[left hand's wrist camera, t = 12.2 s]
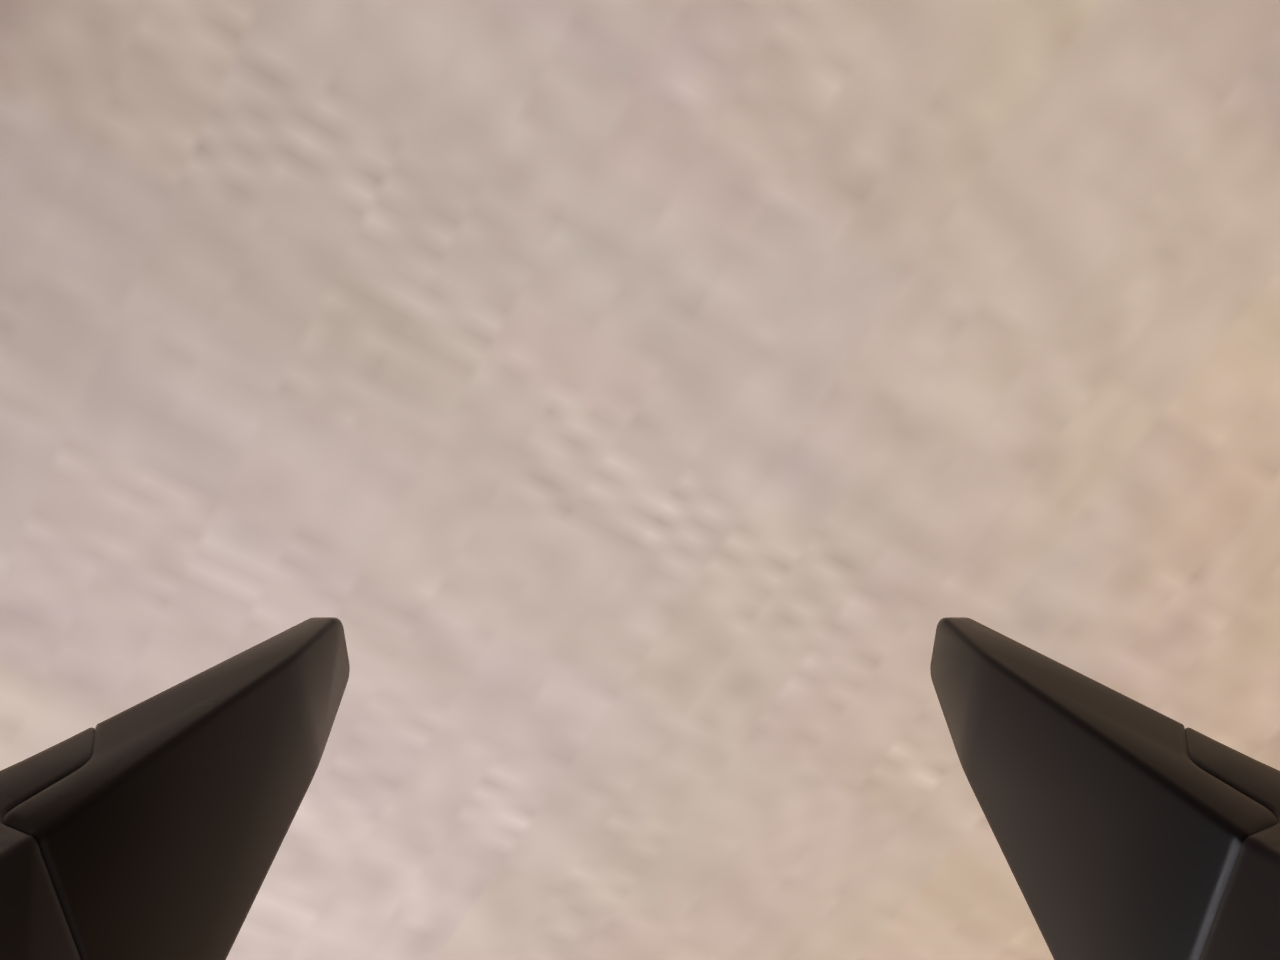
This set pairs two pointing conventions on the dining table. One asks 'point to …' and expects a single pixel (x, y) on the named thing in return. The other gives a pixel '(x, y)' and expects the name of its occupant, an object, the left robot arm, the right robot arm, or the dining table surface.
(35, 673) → the dining table surface
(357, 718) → the dining table surface
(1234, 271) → the dining table surface
